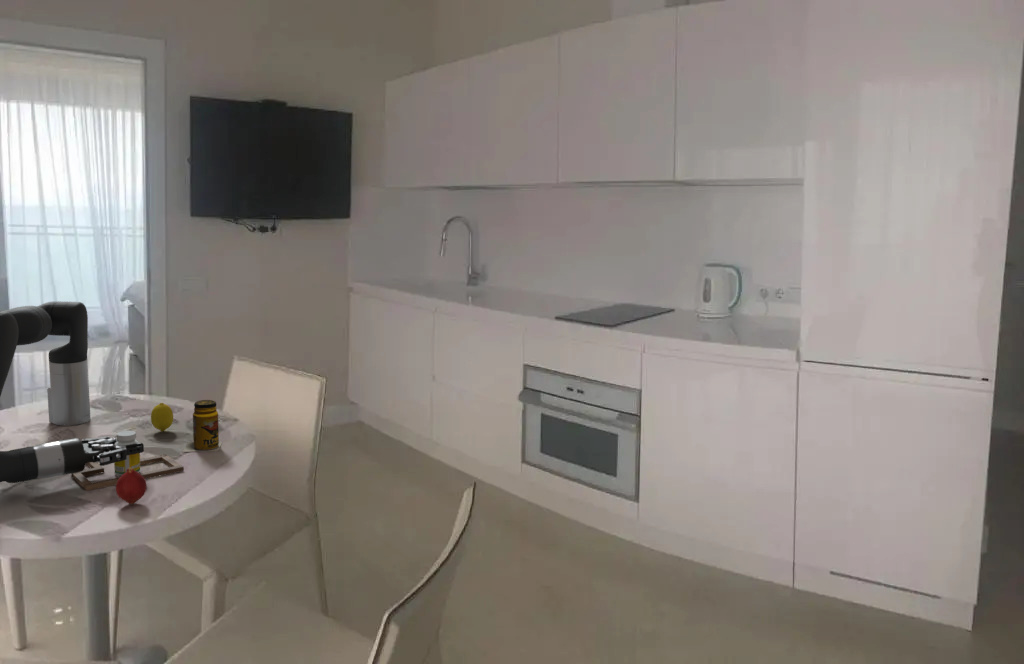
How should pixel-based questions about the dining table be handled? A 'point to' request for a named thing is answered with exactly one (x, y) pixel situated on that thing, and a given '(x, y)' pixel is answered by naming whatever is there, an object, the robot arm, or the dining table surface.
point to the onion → (131, 486)
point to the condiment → (204, 428)
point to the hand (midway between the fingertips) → (138, 443)
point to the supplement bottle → (131, 460)
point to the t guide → (98, 469)
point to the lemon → (162, 417)
